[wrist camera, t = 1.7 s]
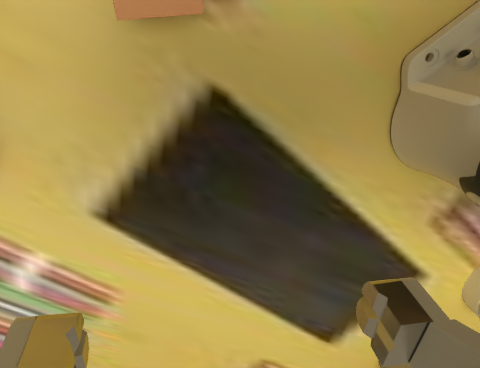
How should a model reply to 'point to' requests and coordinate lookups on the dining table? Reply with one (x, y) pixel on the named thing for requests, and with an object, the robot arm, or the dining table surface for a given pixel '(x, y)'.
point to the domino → (156, 8)
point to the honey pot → (472, 292)
